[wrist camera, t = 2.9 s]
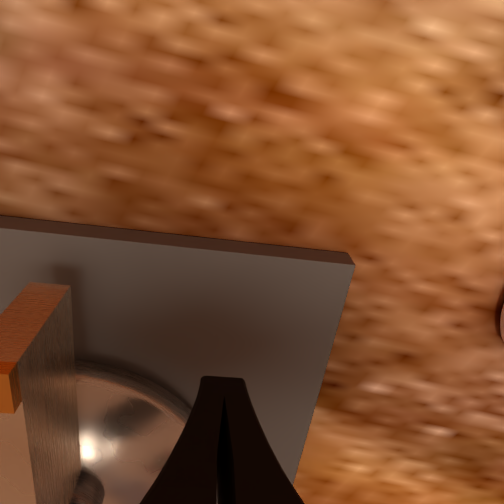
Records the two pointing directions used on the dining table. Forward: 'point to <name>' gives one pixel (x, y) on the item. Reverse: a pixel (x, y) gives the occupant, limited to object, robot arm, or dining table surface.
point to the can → (502, 323)
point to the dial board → (193, 311)
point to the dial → (74, 413)
